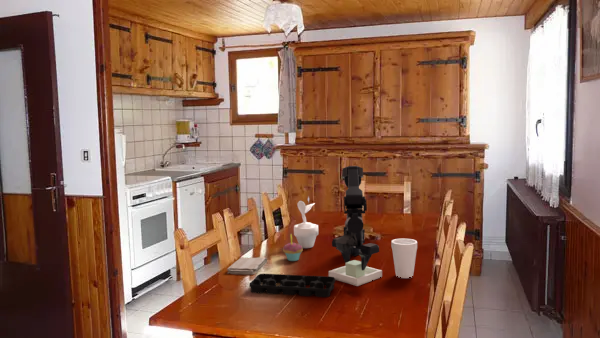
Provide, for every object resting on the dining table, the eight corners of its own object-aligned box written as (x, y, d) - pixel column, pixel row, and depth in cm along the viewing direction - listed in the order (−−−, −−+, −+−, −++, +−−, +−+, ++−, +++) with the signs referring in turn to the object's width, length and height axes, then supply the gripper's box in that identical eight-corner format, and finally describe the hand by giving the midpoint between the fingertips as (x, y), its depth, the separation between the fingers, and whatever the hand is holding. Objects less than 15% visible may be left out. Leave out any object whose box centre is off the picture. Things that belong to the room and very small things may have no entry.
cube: (354, 272, 190) (354, 259, 189) (364, 275, 186) (364, 262, 186) (345, 275, 187) (345, 262, 186) (355, 278, 183) (355, 265, 182)
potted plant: (305, 251, 225) (304, 196, 222) (289, 246, 233) (287, 193, 231) (325, 246, 233) (324, 192, 230) (309, 241, 242) (307, 190, 239)
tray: (353, 269, 196) (353, 263, 196) (382, 276, 186) (382, 270, 186) (328, 277, 187) (328, 271, 187) (357, 286, 177) (357, 279, 176)
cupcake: (300, 262, 207) (299, 234, 206) (280, 262, 209) (279, 233, 208) (304, 257, 215) (303, 229, 214) (285, 256, 217) (284, 229, 216)
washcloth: (226, 275, 194) (225, 267, 194) (240, 262, 212) (240, 255, 212) (255, 276, 192) (255, 268, 192) (267, 262, 210) (267, 255, 209)
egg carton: (336, 299, 166) (336, 288, 166) (247, 300, 167) (246, 289, 166) (334, 281, 184) (334, 271, 183) (253, 283, 184) (252, 273, 184)
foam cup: (418, 272, 190) (418, 239, 189) (416, 280, 181) (415, 245, 180) (393, 270, 193) (393, 237, 192) (389, 278, 184) (389, 243, 183)
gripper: (321, 226, 186) (322, 267, 188) (359, 234, 172) (360, 278, 174) (341, 222, 193) (342, 261, 195) (379, 229, 180) (380, 271, 181)
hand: (355, 268), depth 186 cm, fingers open, 7 cm apart
